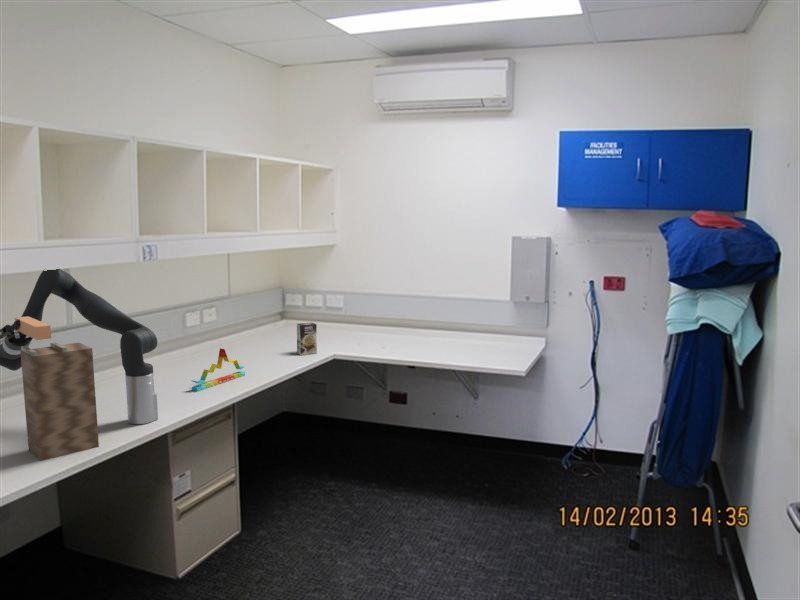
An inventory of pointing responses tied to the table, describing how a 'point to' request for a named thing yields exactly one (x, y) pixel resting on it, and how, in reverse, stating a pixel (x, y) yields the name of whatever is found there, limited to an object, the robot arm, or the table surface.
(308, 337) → the coffee box
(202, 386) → the chart
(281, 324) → the table surface
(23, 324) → the tan wooden block
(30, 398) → the stand
